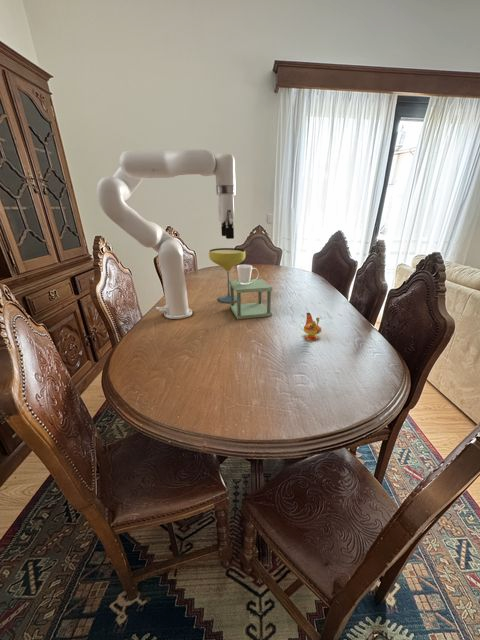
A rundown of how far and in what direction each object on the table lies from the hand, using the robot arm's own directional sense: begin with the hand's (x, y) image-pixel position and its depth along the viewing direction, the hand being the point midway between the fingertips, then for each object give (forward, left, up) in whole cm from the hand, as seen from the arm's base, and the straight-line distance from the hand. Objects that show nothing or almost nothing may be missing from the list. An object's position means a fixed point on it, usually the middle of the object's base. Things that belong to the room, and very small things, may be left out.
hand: (227, 237), depth 122 cm
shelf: (+9, -3, -33) cm, 35 cm away
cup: (+8, -3, -20) cm, 22 cm away
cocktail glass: (+3, +18, -34) cm, 38 cm away
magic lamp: (+25, -36, -34) cm, 55 cm away
